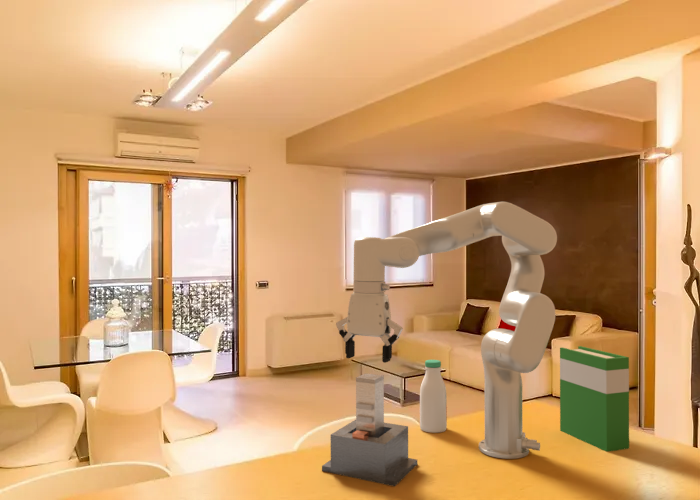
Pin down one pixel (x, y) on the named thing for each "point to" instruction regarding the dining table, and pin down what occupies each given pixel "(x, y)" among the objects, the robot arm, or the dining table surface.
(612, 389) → the hardback book
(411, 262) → the robot arm
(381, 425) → the column
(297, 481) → the dining table surface
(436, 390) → the milk bottle
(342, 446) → the housing
